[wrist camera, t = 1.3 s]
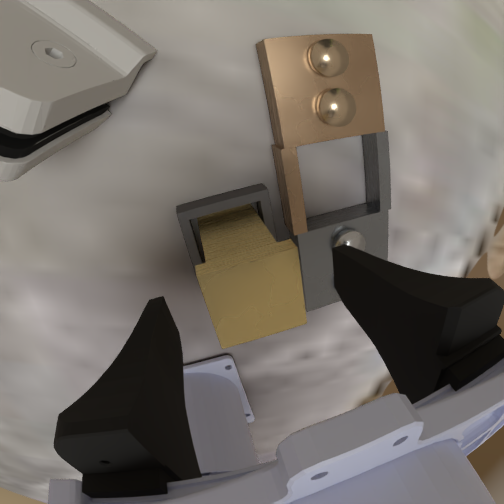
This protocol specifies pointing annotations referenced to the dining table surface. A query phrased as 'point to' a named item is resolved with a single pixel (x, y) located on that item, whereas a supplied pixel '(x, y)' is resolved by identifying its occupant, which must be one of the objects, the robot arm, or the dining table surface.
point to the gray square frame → (219, 204)
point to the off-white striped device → (59, 76)
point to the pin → (248, 277)
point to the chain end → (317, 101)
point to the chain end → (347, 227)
